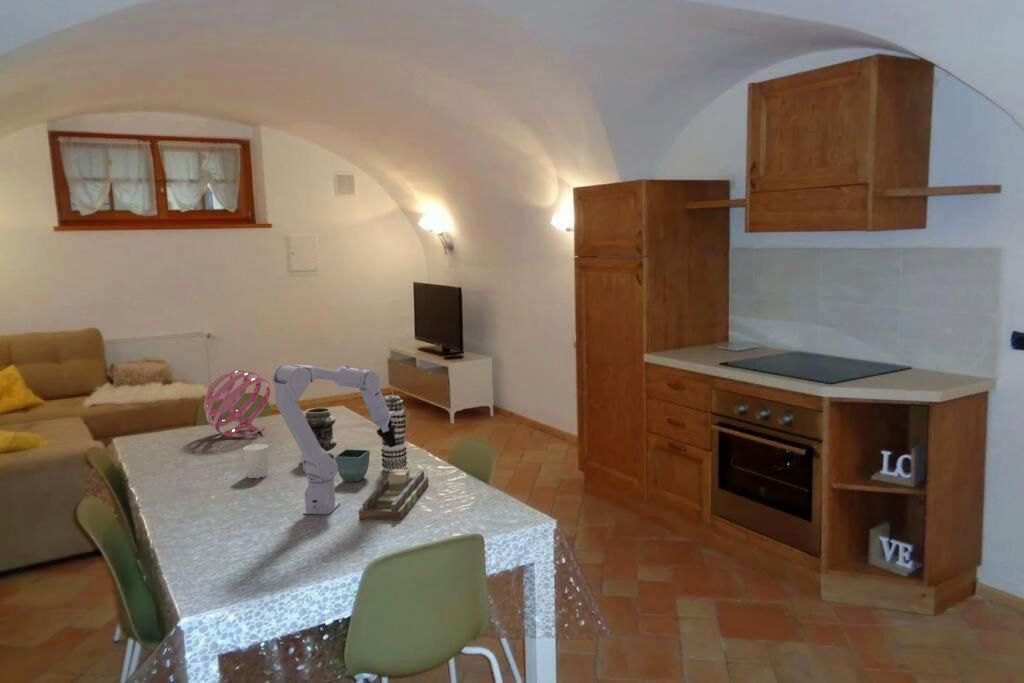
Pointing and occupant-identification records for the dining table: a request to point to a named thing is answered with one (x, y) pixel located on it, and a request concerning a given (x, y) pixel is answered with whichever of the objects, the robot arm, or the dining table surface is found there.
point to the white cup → (256, 460)
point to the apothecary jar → (322, 427)
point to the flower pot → (353, 464)
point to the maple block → (398, 480)
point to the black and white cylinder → (396, 454)
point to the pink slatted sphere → (233, 399)
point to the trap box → (393, 500)
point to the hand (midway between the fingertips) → (391, 440)
